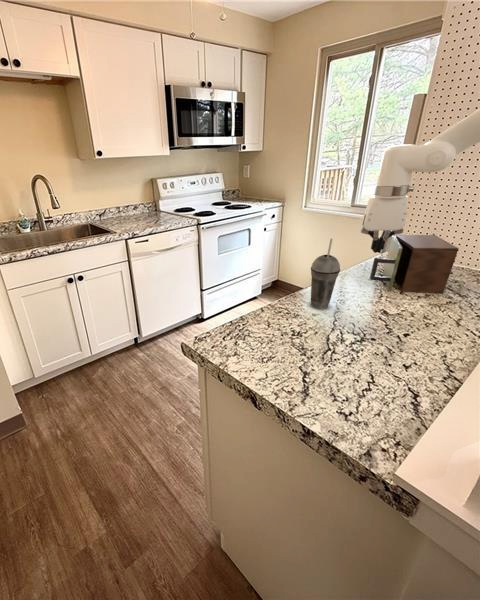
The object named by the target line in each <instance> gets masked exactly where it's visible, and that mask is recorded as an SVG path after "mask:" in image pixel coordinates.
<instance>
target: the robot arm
mask: <svg viewBox="0 0 480 600" xmlns="http://www.w3.org/2000/svg"><path fill="white" fill-rule="evenodd" d="M479 143H480V107H479V108H478V109H476V110H475V111H473V112H472V113H470V114H469V115H467V116H465V117H464V118H462V119H460V120H459V121H458V122H456V123H455V124H453V125H451V126H450V127H448V128H447V129H445V130H444V131H442V132H441V133H439V134H438V135H436V136H435V137H433V138H431V139H430V140H428V141H427V142H426V143H423V144H417V145H416V144H412V143H410V144H409V143H407V144H394V145H390V146H387V147H386V148H385V149H384V151H383V153H382V157H381V163H380V168H379V171H378V177H377V181H376V185H375V189H374V195H371V196H370V197H369V199H368V202H367V203H366V204H367V205H366V207H365V211H364V214H363V217H362V221H361V229H360V231H359V232H360V233H361V234H364V235H368V236H370V237H371V238H372V240H371V241H372V242H371V245H370V250H372V252H373V253H374V254H376V253H378V254H381V253H382V250H384V248H385V244H386V241H387V240H388V239H390V238H392V236H396V235H402V234H403V233H404V227H405V225H406V222H407V216H408V209H409V195H408V194H409V193H410V192H414V190H415V186H414V185H413V186H411V185H410V180H411V178H412V174H413V173H414V172H416V173H427V174H429V173H430V174H431V173H432V174H433V173H439V172H441V171H443V170H445V169H446V168H448V167H450V166H451V165H452V163H453V162H454V160H455V159H456V156H457V155H459V154H461V153H462V152H465V151H467V150H468V149H469V148H471V147H474V146H475V145H476V144H479ZM380 231H381V235H380V236H379V234H380Z"/></svg>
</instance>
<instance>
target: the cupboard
mask: <svg viewBox="0 0 480 600" xmlns="http://www.w3.org/2000/svg"><path fill="white" fill-rule="evenodd" d="M395 236H396V238H397V239H398V241H399V243H400V245H401V247H402V248H403V249H402V252H401V256H400V260H399V264H398V267H397V271H396V275H395V279H394V282H393V284H394V285H395V286H396V287H397V288H398V290H400V292H401V293H423V294H444V292H445V290H446V287H447V283H448V281H449V278H450V276H451V271H452V269H453V267H454V264H455V262H456V261H455V260H456V258H457V255H458V252H459V247H457V246H455V245H454V244H452V243H450V242H449V241H446V240H444V239H443V238H442V237H439V236H438V235H436V234H396V235H395Z"/></svg>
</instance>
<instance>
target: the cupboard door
mask: <svg viewBox="0 0 480 600" xmlns="http://www.w3.org/2000/svg"><path fill="white" fill-rule="evenodd" d="M402 249H403V248H402V247H401V245H400V243H399V241H398V239H397V238H396V235H392V236H391V239H390V243H389V248H388V251H387V256H386V258H384V257H374V258H373V263H372V266H371V272H370V276H369V280H370V281H376V282H377V281H379V282H385V285H386V288H387V291H390V292H391V291H392V289H393V286H394V279H395V275H396V271H397V267H398V264H399V260H400V256H401V252H402ZM379 264H384V268H383V272H382V275H376V274H377V269H378V265H379Z"/></svg>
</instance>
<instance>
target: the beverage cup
mask: <svg viewBox="0 0 480 600" xmlns="http://www.w3.org/2000/svg"><path fill="white" fill-rule="evenodd" d="M332 245H333V238H330V240H329V245H328V249H327V254H322V255H320V256H317V257H316V258H315V259H314V260H313V261H312V263H311V267H310V275H311V279H310V280H311V285H310V307H312V308H313V309H316V310H327V309H328V308H329V305H330V303H331V299H332V296H333V292H334V289H335V285H336V281H337V279H338V277H339V274H340V272H341V264H340V262H339V260H338V258H336V257H335V256H334V255H331V254H330V253H331V249H332Z"/></svg>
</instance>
